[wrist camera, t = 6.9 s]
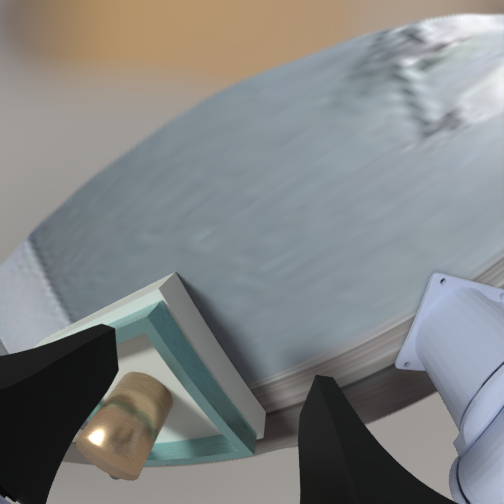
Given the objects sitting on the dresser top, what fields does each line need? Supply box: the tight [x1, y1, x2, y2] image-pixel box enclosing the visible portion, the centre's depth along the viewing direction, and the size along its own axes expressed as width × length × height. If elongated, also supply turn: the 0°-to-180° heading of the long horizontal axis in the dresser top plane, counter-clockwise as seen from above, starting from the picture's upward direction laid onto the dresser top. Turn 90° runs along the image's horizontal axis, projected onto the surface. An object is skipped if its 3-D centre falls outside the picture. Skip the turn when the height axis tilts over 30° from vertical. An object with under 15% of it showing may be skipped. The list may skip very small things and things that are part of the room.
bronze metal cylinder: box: [76, 372, 173, 480], centre depth 16 cm, size 4×6×7 cm
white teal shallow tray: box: [32, 272, 266, 443], centre depth 21 cm, size 18×14×4 cm
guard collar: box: [87, 300, 257, 466], centre depth 18 cm, size 13×13×2 cm
